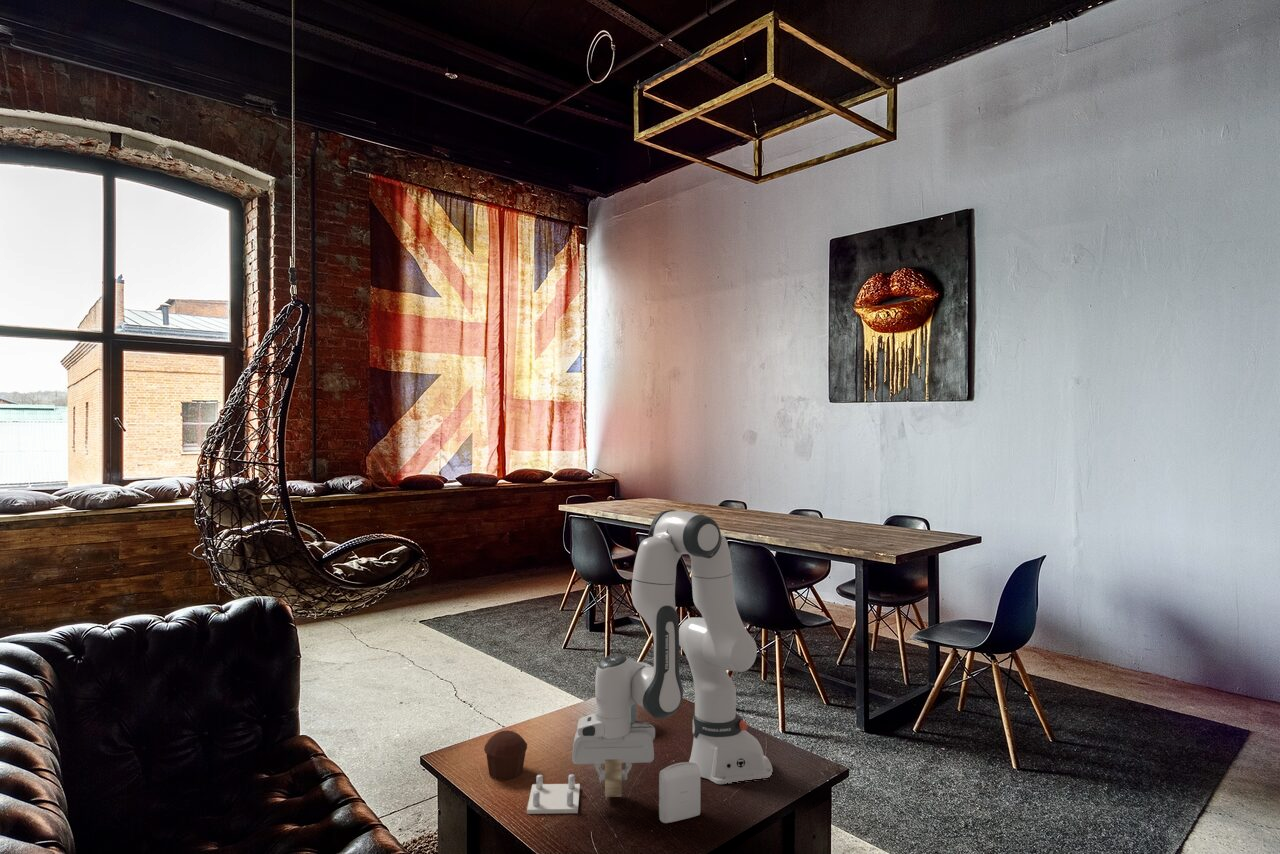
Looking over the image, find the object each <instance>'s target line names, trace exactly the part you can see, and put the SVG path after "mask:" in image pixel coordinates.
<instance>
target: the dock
mask: <svg viewBox="0 0 1280 854" xmlns="http://www.w3.org/2000/svg"><path fill="white" fill-rule="evenodd" d="M535 776H536V777H535V779H536V781H535V782H536V783H533V784H532V785H531V789H530V793H529V799H528V802H527V806H526V814H527V815H535V814H536V815H539V814H540V815H541V814H544V815H545V814H554V815H555V814H579V803H580V802H579V801H580V791H581V784H580V783H576V782H575V780H576V774H573V773H571V774H568V781H567V782H568V783H544V779H543V778H544V775H542V774H537V775H535Z"/></svg>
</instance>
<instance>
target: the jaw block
mask: <svg viewBox="0 0 1280 854" xmlns="http://www.w3.org/2000/svg"><path fill="white" fill-rule="evenodd" d="M622 770H623V769H622V763H621V759H616V760H605V763H604V771H605V781H604V796H605V798H613V797H614V798H615V797H617V798H619V797H620V798H621V797H622V793H623V792H622V789H623V788H622V785H623V783H622V781H623V780H622Z"/></svg>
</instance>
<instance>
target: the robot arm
mask: <svg viewBox="0 0 1280 854" xmlns="http://www.w3.org/2000/svg"><path fill="white" fill-rule="evenodd" d="M682 555H689V558H690V562H691V563H690V567H691V568H690V571H691V573H690V574H691V588H692V589H691V591H692V599H693V600H692V601H693V603H694V606H695V607H696V609H697V610H698V611H699V613H700V614H701V617H700V616H699V617H689V618H686V619H685V620H684V621H683V622H682V623H681V624H680V625H679V618H678V617H679V616H678V613H677V607H676V596H675V595H676V580H677V579H676V577H677V564H678V562H679V560H680V558H681V557H682ZM632 571H633V573H632V579H631V580H632V581H631V588H630V589H631V601H632V605H633V607H634V609H635V610H636V611H637V612H638V614H639V615H640V616H641V617H642V618H643V620H644V621H645V623H646V625H647V626H648V628H649V629H650V631H651V634H652V637H653V665H651V664H649V663H647V662H645V661H635V660H633V659H630V658H628V657H627V656H626V655H624V654H619V653H618V654H610V655H606V656H605V657H603V658H602V659H601V660H600V661H598V665H597V667H596V672H595V679H594V680H595V682H594V684H595V685H594V695H595V699H596V705H595V709H594V710H595V711H594V713H590V714H588V715H584V716H582V717H580V718H579V719H578V722H577V726H576V727H577V728H576V732H575V734H574V738H573V745H572V753H571V760H572V762H573V764H574V765H593V764H594V769H595V770H596V772H597V774H598V775H599V776H598V777H599V778H598V781H600V782H602V781H603V782H605V770H603V769H602V768H601V765H602V764H604V765H605V760H616V759H621V764H625V768H624V769H622V781H628V774H629V773H630V770H631V769H632V767H633V765H632V764H635V763H636V764H642V763H647V764H648V763H652V762H653V760H655V752H654V751H655V747H654V742H653V741H654V740H655V738H656V728H655V726H654V725H652V724H650V723H649V722H635V723H631V706H632V705H634V704H636V705H638V706H640V707H641V708H642V709H644V710H645V711H646V712H647V713H648V714H650V716H651V717H653V718H655V719H658V720H664V719H666V718H669V717H671V716H673V715H674V714H675V713H676V712H677V711H678V710H679V709H680V706H681V704H682V702H683V699H684V698H683V697H684V689H683V684H682V681H681V675H680V674H681V673H680V648H681V650H682V651H683V653H684V654H685V657H686V659H687V662H688V665H689V667H690V671H691V675H692V679H693V685H694V712H693V713H692V714H693V716H692V734H693V741H692V747H691V753H690V757H689V761H688V762H692V763H696V764H697V765H698V766H699V769H700V778H704V779H707V780H709V781H711V782H713V783H715V784H716V785H725V784H726V785H727V783H728V784H733V783H732V782H737V783H739V782H738V781H744V780H752V779H761V778H768V777H770V776H771V775H772V772H774V771H773V766H772V765H773V764H772V763H771V761H770V759H769V758H768V757H767V756H766V755H764V751H763V748H762V745H761V743H760V742H759V740H758V739H757V738H756V736H754V735H752V734H751V733H750V732H748V731H747V729H748V724H747V722H746V721H745V720H744V719H743V717H742V715H740V713H738V712H737V705H736V704H737V690H736V689H737V688H736V685H735V683H734V681H733V679H732V678H731V677H730V675H729V673H728V671H730V672H731V671H732V672H738V673H739V672H741V673H742V672H743V673H744V672H746V671H748V670H749V669H750V668H752V666H753V665H754V663H755V661H756V659H757V656H758V655H757V654H758V648H757V643H756V641H755V639H754V638H753V637H752V635H750V633H749V632H748V630H747V628H746V627H745V624H744V623H743V620H742V618H741V616H740V613H739V610H738V608H737V604H736V599H735V598H736V597H735V589H734V580H733V579H734V577H733V575H734V574H733V565H732V556H731V552H730V548H729V544H728V540H727V538H726V537H725V536H724V535H723V534H722V533H721V529H720V527H719V525H718V523H717V522H716V521H715V520H714V519H713V518H711V517H710V516H708V515H705V514H699V513H696V512H693V511H686V510H684V511H681V510H673V509H668V510H663V511H661V512H659V513H658V514H656V515H655V516H654V518H653V519H652V521H651V524H650V527H649V531H648V534H647V538H645V539H643V540H642V541H641V542H640V543H639V546H638V549H637V553H636V556H635V560H634V565H633V570H632ZM772 776H773V775H772Z"/></svg>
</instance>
